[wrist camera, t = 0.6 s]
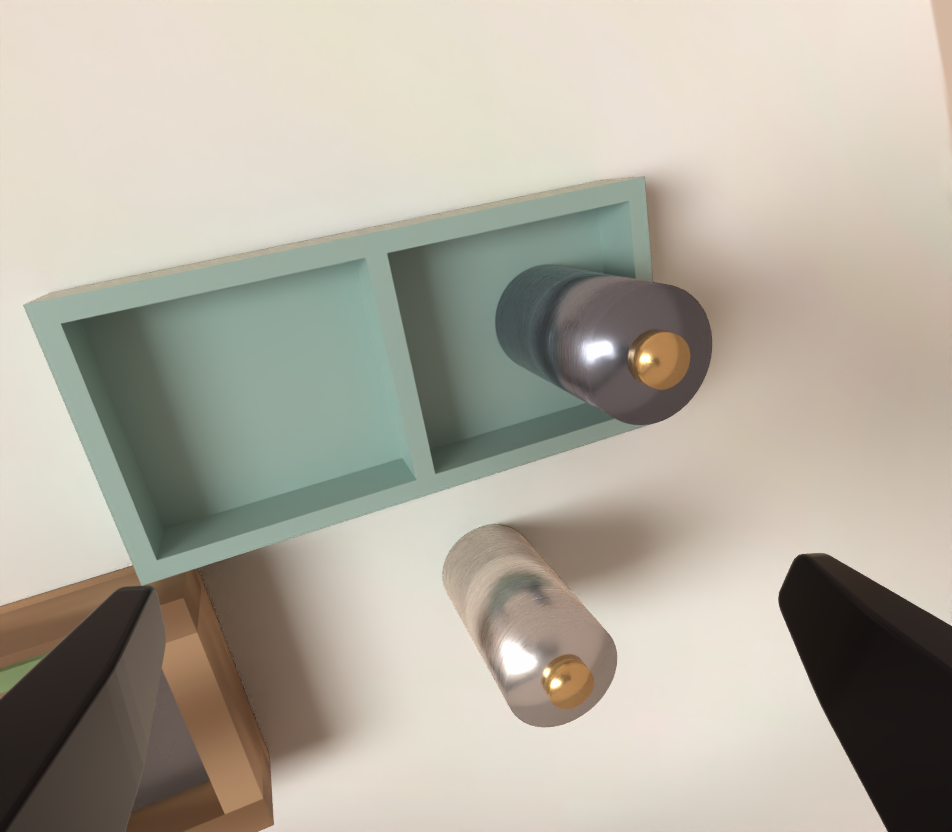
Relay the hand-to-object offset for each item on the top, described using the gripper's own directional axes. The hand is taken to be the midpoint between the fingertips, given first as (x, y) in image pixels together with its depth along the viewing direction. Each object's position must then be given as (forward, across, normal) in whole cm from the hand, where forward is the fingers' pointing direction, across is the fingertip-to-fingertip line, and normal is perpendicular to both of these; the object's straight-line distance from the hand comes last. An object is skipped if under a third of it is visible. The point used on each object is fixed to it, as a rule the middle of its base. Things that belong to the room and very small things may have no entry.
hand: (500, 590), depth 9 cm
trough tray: (+13, +1, +3) cm, 13 cm away
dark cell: (+14, -4, +2) cm, 14 cm away
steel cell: (+12, -3, +11) cm, 16 cm away
